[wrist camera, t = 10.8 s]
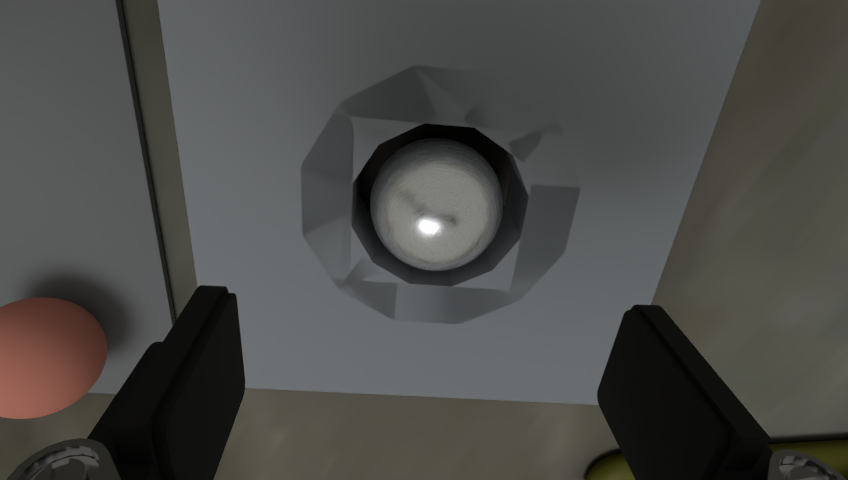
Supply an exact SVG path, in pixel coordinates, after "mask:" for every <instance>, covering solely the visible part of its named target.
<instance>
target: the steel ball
mask: <svg viewBox="0 0 848 480" xmlns="http://www.w3.org/2000/svg"><path fill="white" fill-rule="evenodd" d="M502 211H503V196H502V191H501V186H500V183H499V180H498V178H497V176H496V174H495V172H494V170H493V169H492V167H491V166H490V164H489V163H488V161H487V160H486V159H485V158H484V157H483V156H482V155H481V154H479V153H478V152H477V151H476V150H474V149H473V148H471V147H469V146H468V145H466V144H463V143H461V142H459V141H456V140H452V139H447V138H426V139H421V140H417V141H415V142H412V143H409V144H407V145H406V146H404V147H402V148H400V149H399V150H398V151H396V152H395V153H394V154H393V155H392V156H391V157H390V158H388V159H387V161H386V162H385V163H384V164H383V166H382V167H381V169H380V170H379V172H378V174H377V176H376V178H375V181H374V183H373V187H372V191H371V197H370V212H371V218H372V222H373V225H374V228H375V231H376V233H377V235H378V237H379V239H380V240H381V242H382V243H383V244H384V246H385V247H386V248H387V249H388V250H389V252H390V253H392V254H393V255H394V256H395V257H396V258H398V259H399V260H401V261H402V262H404V263H406V264H408V265H410V266H413V267H415V268H419V269H423V270H429V271H444V270H450V269H454V268H457V267H460V266H463V265H465V264H467V263H469V262H470V261H472V260H474V259H475V258H476V257H478V256H479V255H480V254H481V253H482V252H483V251H484V250H485V249H486V248H487V247H488V246H489V244H490V243H491V242H492V240H493V238H494V237H495V235H496V233H497V230H498V228H499V225H500V222H501V218H502Z"/></svg>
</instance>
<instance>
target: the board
mask: <svg viewBox="0 0 848 480" xmlns="http://www.w3.org/2000/svg"><path fill="white" fill-rule="evenodd" d="M157 1H158V9H159V16H160V23H161V30H162V37H163V44H164V51H165V58H166V65H167V73H168V80H169V87H170V94H171V101H172V108H173V115H174V122H175V129H176V137H177V144H178V151H179V158H180V165H181V172H182V179H183V186H184V193H185V200H186V208H187V215H188V222H189V229H190V236H191V243H192V250H193V257H194V264H195V272H196V279H197V286H198V287H199V286H200V285H207V286H226V287H227V289H228V292H229V293H235V294H236V297H237V305H238V315H239V325H240V334H241V344H242V353H243V363H244V373H245V388H259V389H280V390H301V391H322V392H342V393H363V394H384V395H405V396H426V397H446V398H467V399H488V400H509V401H530V402H550V403H571V404H592V405H599V404H598V400H597V391H598V387H599V384H600V382H601V379H602V376H603V373H604V370H605V367H606V364H607V361H608V358H609V355H610V353H611V350H612V347H613V344H614V341H615V338H616V335H617V332H618V329H619V327H620V324H621V321H622V318H623V315H624V313H625V312H626V311H627V310H631V308H632V307H633V306H634V305H636V304H638V305H651V302H652V299H653V296H654V294H655V291H656V288H657V285H658V283H659V280H660V277H661V274H662V272H663V269H664V266H665V263H666V261H667V258H668V255H669V252H670V250H671V247H672V244H673V241H674V239H675V236H676V233H677V230H678V228H679V225H680V222H681V219H682V217H683V214H684V211H685V208H686V205H687V203H688V200H689V197H690V194H691V192H692V189H693V186H694V183H695V181H696V178H697V175H698V172H699V170H700V167H701V164H702V161H703V159H704V156H705V153H706V150H707V148H708V145H709V142H710V139H711V137H712V134H713V131H714V128H715V126H716V123H717V120H718V117H719V115H720V112H721V109H722V106H723V104H724V101H725V98H726V95H727V93H728V90H729V87H730V84H731V82H732V79H733V76H734V73H735V71H736V68H737V65H738V62H739V60H740V57H741V54H742V51H743V49H744V46H745V43H746V40H747V38H748V35H749V32H750V29H751V27H752V24H753V21H754V18H755V16H756V13H757V10H758V7H759V5H760V2H761V0H157ZM424 123H427V124H439V125H451V126H463V127H474V128H476V129H477V130H478V131H480V132H481V133H483V134H484V135H485V136H487V137H488V138H490V139H491V140H492V141H494V142H495V143H496V144H498V145H499V146H501V147H502V148H503V149H505V151H506V153H507V156H508V158H509V161H510V163H511V166H512V173H511V179H510V184H509V190H508V195H507V201H506V206H505V207H504V208H503V211H502V218H501V222H500V225H499V228H498V230H497V233H496V235H495V237H494V238H493V240H492V242H491V243H490V244H489V246H488V247H487V248H486V249H485V250H484V251H483V252H482V253H481V254H480V255H479V256H478V257H476V258H475V259H474V260H472V261H470V262H469V263H467V264H465V265H463V266H460V267H457V268H454V269H450V270H444V271H429V270H423V269H419V268H415V267H413V266H410V265H408V264H406V263H404V262H402V261H401V260H399V259H398V258H396V257H395V256H394V255H393V254H392V253H390V252H389V250H388V249H387V248H386V247H385V246H384V244H383V243H382V242H381V240H380V239H379V237H378V235H377V233H376V231H375V228H374V225H373V222H372V218H371V214H370V212H369V211H368V209H367V207H366V205H365V204H364V202H363V200H362V198H361V197H360V195H359V192H360V172H361V170H362V169H363V167H364V166H365V164H366V163H367V161H368V160H369V158H370V157H371V155H372V154H373V152H374V151H375V149H376V148H377V146H378V145H379V144H381V143H383V142H385V141H387V140H389V139H392V138H394V137H396V136H398V135H400V134H402V133H404V132H407V131H409V130H411V129H413V128H415V127H417V126H419V125H421V124H424Z"/></svg>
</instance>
